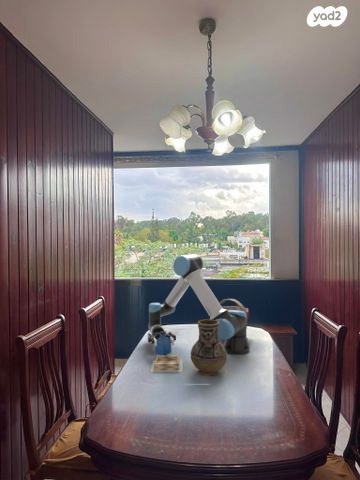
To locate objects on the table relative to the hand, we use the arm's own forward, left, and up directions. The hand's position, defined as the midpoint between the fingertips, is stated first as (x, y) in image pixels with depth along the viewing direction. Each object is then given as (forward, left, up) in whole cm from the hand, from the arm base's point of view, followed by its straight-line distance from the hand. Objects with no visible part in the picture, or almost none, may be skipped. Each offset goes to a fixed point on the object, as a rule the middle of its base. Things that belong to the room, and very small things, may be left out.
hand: (164, 343), depth 189 cm
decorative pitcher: (-23, +17, -9) cm, 30 cm away
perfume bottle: (+1, -4, -7) cm, 9 cm away
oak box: (-2, +10, -9) cm, 13 cm away
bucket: (-42, -41, -9) cm, 60 cm away
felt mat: (-2, +10, -9) cm, 13 cm away
